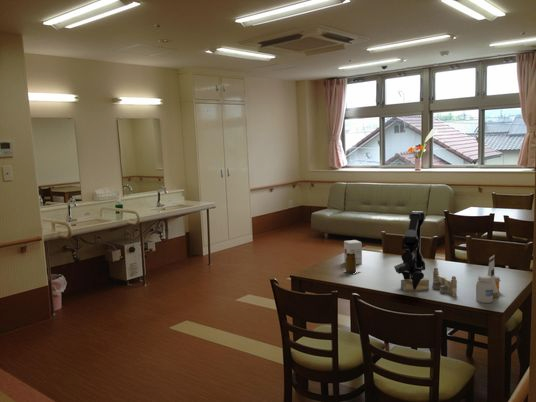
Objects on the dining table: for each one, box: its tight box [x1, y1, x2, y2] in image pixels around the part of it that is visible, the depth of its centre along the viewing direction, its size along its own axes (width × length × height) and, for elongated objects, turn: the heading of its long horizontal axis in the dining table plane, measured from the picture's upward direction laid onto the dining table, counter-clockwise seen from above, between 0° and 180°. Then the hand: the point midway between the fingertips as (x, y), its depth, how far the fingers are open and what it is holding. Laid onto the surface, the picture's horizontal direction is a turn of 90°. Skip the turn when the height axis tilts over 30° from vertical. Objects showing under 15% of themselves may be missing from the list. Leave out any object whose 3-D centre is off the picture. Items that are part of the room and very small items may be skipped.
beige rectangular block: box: [400, 277, 430, 292], centre depth 251 cm, size 4×14×5 cm, turn 99°
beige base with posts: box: [432, 267, 458, 297], centre depth 247 cm, size 20×5×10 cm, turn 9°
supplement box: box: [343, 239, 363, 265], centre depth 309 cm, size 9×9×15 cm
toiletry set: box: [475, 254, 501, 304], centre depth 234 cm, size 25×8×20 cm, turn 140°
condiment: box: [345, 252, 357, 275], centre depth 287 cm, size 7×8×12 cm
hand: (410, 286), depth 251 cm, fingers open, 9 cm apart
